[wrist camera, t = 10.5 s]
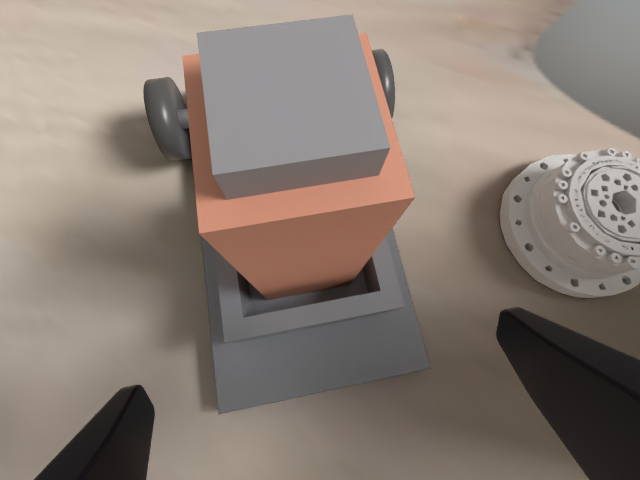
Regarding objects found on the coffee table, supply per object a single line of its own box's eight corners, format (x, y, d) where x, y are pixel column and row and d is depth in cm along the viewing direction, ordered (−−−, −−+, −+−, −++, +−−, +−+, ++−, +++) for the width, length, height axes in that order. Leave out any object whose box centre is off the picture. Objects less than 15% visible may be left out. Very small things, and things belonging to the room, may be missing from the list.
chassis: (445, 362, 20) (487, 368, 16) (199, 415, 19) (162, 440, 14) (363, 72, 26) (375, 12, 22) (172, 98, 25) (140, 41, 20)
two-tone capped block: (350, 285, 20) (433, 172, 7) (268, 300, 20) (178, 213, 6) (333, 209, 22) (374, -12, 8) (256, 222, 21) (163, 13, 8)
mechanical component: (510, 146, 25) (483, 268, 22) (551, 107, 21) (524, 251, 18) (643, 189, 24) (633, 320, 22) (713, 158, 20) (711, 316, 17)
